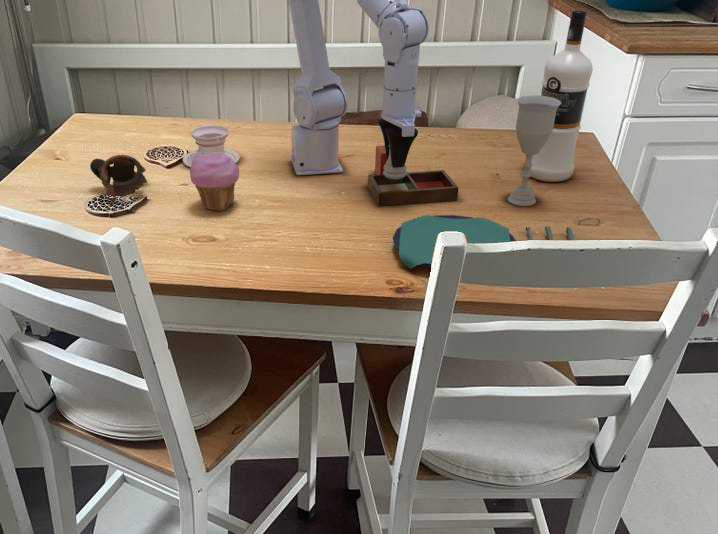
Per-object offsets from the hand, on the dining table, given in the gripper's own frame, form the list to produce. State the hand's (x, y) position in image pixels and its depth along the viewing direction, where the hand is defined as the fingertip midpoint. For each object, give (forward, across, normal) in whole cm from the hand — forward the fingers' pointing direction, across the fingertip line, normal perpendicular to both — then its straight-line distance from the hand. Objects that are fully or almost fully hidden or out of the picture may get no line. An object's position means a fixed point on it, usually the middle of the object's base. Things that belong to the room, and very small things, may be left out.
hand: (395, 163), depth 134 cm
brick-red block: (+6, +10, -1) cm, 11 cm away
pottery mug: (+6, +10, +51) cm, 53 cm away
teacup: (+6, +24, +33) cm, 42 cm away
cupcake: (+6, 0, +33) cm, 34 cm away
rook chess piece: (+3, 0, 0) cm, 3 cm away
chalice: (+6, -6, -23) cm, 25 cm away
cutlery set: (+6, -26, -9) cm, 28 cm away
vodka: (+6, +4, -33) cm, 34 cm away
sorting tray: (+6, 0, -4) cm, 7 cm away
